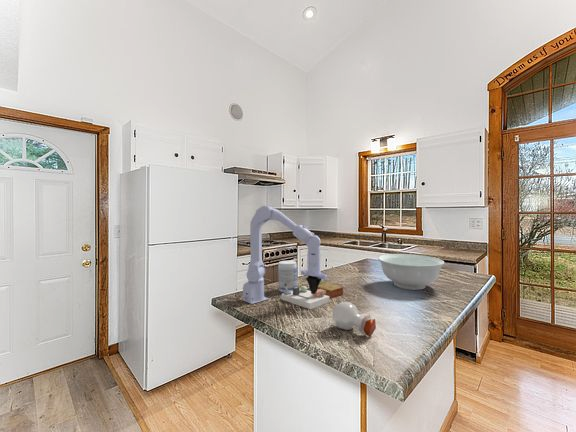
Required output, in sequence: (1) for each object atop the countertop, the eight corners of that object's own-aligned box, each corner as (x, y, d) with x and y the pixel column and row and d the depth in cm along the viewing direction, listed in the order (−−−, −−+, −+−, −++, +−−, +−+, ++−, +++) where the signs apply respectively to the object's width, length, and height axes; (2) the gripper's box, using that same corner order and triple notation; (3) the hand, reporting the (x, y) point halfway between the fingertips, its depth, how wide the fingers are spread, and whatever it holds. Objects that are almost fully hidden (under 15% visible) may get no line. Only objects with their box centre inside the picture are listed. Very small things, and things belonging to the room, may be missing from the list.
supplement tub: (298, 292, 143) (298, 263, 142) (279, 293, 141) (279, 264, 141) (295, 287, 152) (295, 260, 152) (277, 288, 151) (277, 260, 150)
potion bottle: (335, 326, 106) (371, 345, 95) (322, 317, 100) (359, 336, 89) (346, 303, 109) (382, 319, 98) (334, 293, 103) (371, 309, 92)
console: (310, 309, 120) (309, 298, 120) (281, 299, 133) (281, 290, 133) (329, 301, 129) (329, 292, 129) (301, 293, 142) (300, 284, 142)
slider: (295, 295, 130) (295, 288, 130) (292, 294, 131) (292, 287, 131) (299, 294, 132) (299, 287, 132) (296, 293, 133) (296, 286, 133)
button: (303, 292, 135) (303, 287, 134) (299, 290, 137) (299, 286, 137) (307, 290, 136) (307, 286, 136) (303, 289, 138) (303, 285, 138)
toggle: (287, 291, 132) (285, 283, 133) (285, 291, 133) (283, 283, 134) (289, 290, 133) (287, 282, 134) (287, 290, 134) (285, 283, 135)
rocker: (317, 295, 126) (317, 292, 126) (311, 294, 129) (311, 290, 129) (325, 293, 130) (325, 290, 130) (319, 291, 133) (319, 288, 133)
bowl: (457, 295, 137) (458, 264, 136) (389, 295, 137) (389, 265, 137) (426, 277, 169) (426, 253, 168) (371, 278, 169) (371, 253, 169)
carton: (331, 299, 134) (331, 290, 133) (308, 291, 146) (308, 283, 146) (343, 295, 138) (343, 286, 138) (320, 288, 151) (320, 280, 151)
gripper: (332, 263, 124) (332, 294, 125) (308, 259, 135) (308, 288, 135) (321, 266, 120) (321, 298, 120) (297, 261, 130) (297, 291, 131)
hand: (313, 293), depth 127 cm, fingers closed, pressing on rocker
